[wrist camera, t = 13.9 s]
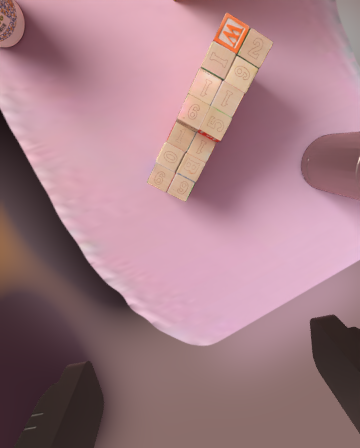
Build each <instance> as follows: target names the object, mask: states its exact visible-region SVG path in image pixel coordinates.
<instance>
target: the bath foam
mask: <svg viewBox="0 0 360 448" xmlns="http://www.w3.org/2000/svg"><path fill="white" fill-rule="evenodd" d="M24 28H25V22H24V17H23V13H22V11H21V9H20V7H19V6H18V4H17V3H16V2H15V0H0V47H10V46H13V45H15V44H16V43H18V42H19V40H20V39H21V38H22V36H23V33H24Z"/></svg>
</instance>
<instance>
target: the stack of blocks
mask: <svg viewBox="0 0 360 448" xmlns="http://www.w3.org/2000/svg"><path fill="white" fill-rule="evenodd" d="M272 44H273V42H272V41H271V40H269V39H268V38H266V37H265V36H263V35H262V34H260V33H259V32H257V31H256V30H254V29H253V28H251V29H250V27H249V26H248V25H246V24H245V23H243V22H241V21H240V20H238V19H237V18H235V17H234V16H232V15H230V14H229V13H226V14H225V16H224V18H223V20H222V23H221V25H220V27H219V29H218V31H217V33H216V35H215V37H214V40H213V41H212V43H211V45H210V47H209V50H208V52H207V54H206V56H205V59H204V61H203V63H202V65H201V68H199V70H198V72H197V74H196V76H195V79H194V81H193V83H192V85H191V87H190V90H189V92H188V95H187V97H186V99H185V101H184V103H183V106H182V108H181V110H180V112H179V115H178V117H177V120H176V122H175V124H174V126H173V128H172V131H171V133H170V135H169V137H168V139H167V141H166V142H165V143H164V145H163V147H162V149H161V151H160V153H159V155H158V158H157V160H156V164H155V166H154V168H153V170H152V172H151V174H150V176H149V178H148V181H147V183H148V184H150V185H152V186H154V187H156V188H158V189H160V190H162V191H164V192H167V193H169V194H171V195H172V196H174V197H176V198H178V199H180V200H182V201H184V202H186V200H187V198H188V196H189V194H190V192H191V191H192V189H193V187H194V184H195V183H196V181H197V180H198V178H199V176H200V174H201V172H202V170H203V168H204V166H205V164H206V162H207V161H208V159H209V157H210V155H211V153H212V151H213V149H214V147H215V145H216V142H220V141H221V140H222V138H223V136H224V134H225V132H226V130H227V128H228V126H229V124H230V122H231V120H232V117H233V115H234V113H235V111H236V109H237V107H238V106H239V104H240V102H241V100H242V98H243V96H244V95H245V94H246V92H247V91H248V89H249V87H250V85H251V83H252V81H253V79H254V77H255V75H256V74H257V72H258V69H259V68H260V67H261V65H262V63H263V61H264V59H265V57H266V56H267V54H268V52H269V50H270V48H271V46H272Z"/></svg>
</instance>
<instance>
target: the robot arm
mask: <svg viewBox="0 0 360 448" xmlns="http://www.w3.org/2000/svg"><path fill="white" fill-rule="evenodd" d="M301 169H302V174H303V176H304V179H305V180H306V181H307V183H308V184H309V185H311V186H312V187H314V188H316V189H320V190H324V191H327V192H331V193H334V194H338V195H342V196H346V197H350V198H353V199H357V200H360V132H350V133H339V134H330V135H325V136H322V137H320V138H318V139H316V140H315V141H313V142H312V143H311V144H310V145H309V146H308V148H307V149H306V151H305V153H304V155H303V158H302V163H301ZM310 329H311V340H312V352H313V358H314V361H315V364H316V367H317V369H318V371H319V373H320V374H321V376H322V377H323V379H324V380H325V382H326V383H327V385H328V386H329V388H330V389H331V391H332V392H333V394H334V395H335V397H336V398H337V400H338V401H339V403H340V404H341V406H342V408H343V409H344V410H345V412H346V414H347V415H348V416H349V418H350V420H351V421H352V423H353V424H354V426H355V427H356V429H357V430H358V432H359V433H360V329H358V328H356V327H351V328H347V327H346V326H345V325H344V324H343V323H342V322H341V321H340V320H339V319H338V318H337V317H336V316H335V315H327V316H323V317H317V318H312V319H311V320H310ZM103 408H104V400H103V394H102V391H101V388H100V385H99V382H98V380H97V377H96V374H95V371H94V368H93V366H92V363H90V362H89V361H87V362H81V363H77V364H71V365H68V366H67V367H66V368H65V370H64V372H63V374H62V376H61V378H60V380H59V382H58V383H56V384H52V386H51V387H50V388H49V389H48V390H47V391H46V392H45V393H44V395H43V396H42V397H41V398H40V399H39V401H38V403H37V405H36V407H35V409H34V411H33V413H32V417H30V418H29V420H28V422H27V424H26V426H25V430H24V431H22V433H21V435H20V437H19V439H18V441H17V443H16V445H15V446H14V448H94V445H95V441H96V437H97V434H98V430H99V426H100V422H101V418H102V414H103Z"/></svg>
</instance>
